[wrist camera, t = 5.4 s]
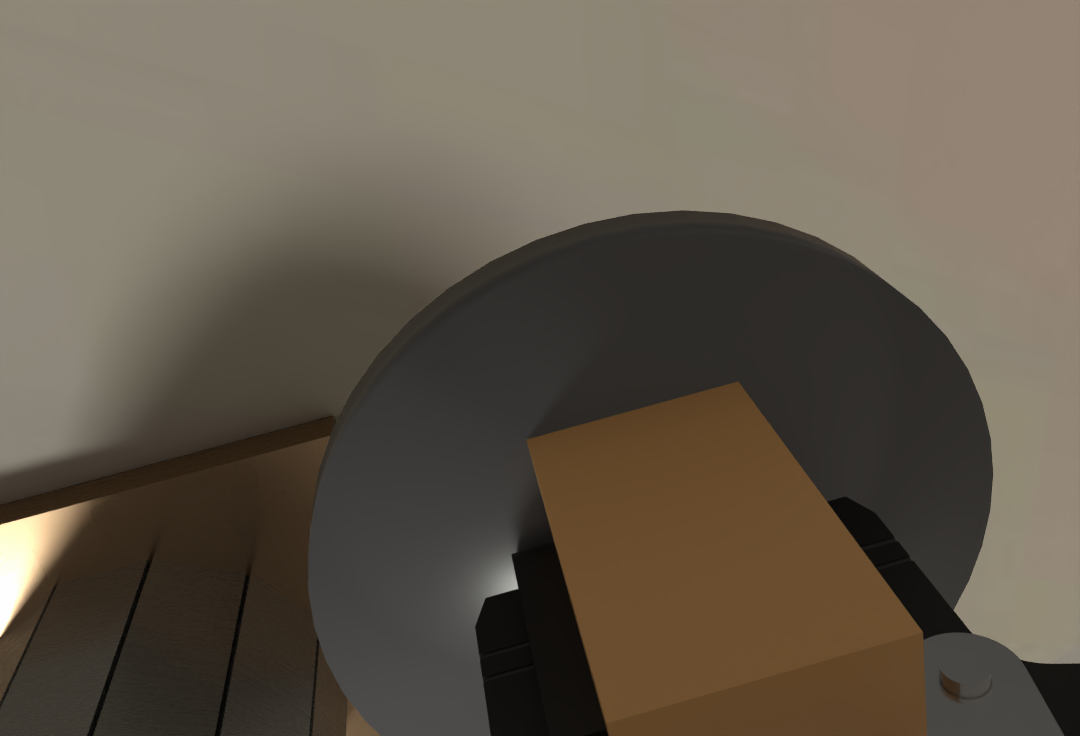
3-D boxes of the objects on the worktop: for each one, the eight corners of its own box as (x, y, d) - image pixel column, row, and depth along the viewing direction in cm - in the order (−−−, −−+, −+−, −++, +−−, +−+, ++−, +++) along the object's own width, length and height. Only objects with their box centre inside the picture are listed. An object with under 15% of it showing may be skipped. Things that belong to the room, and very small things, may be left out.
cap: (218, 283, 14) (86, 642, 7) (899, 103, 14) (1349, 291, 8) (415, 760, 19) (441, 1232, 12) (920, 615, 19) (1206, 998, 13)
